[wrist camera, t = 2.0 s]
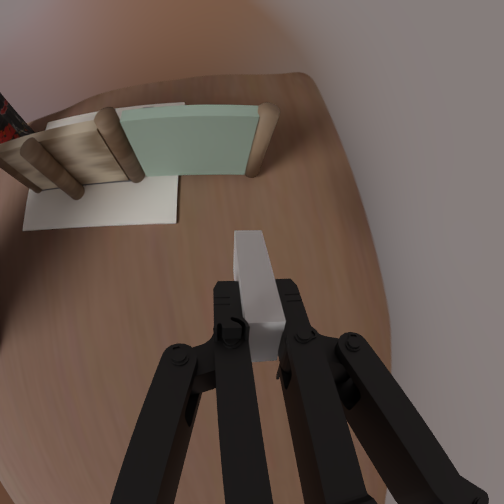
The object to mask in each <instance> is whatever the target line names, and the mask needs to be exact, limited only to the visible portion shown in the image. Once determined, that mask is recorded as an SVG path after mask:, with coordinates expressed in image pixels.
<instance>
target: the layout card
mask: <svg viewBox="0 0 504 504" xmlns="http://www.w3.org/2000/svg"><path fill="white" fill-rule="evenodd" d="M179 105H185V102H179V103H163V104H151V105H141V106H132V107H124V108H117V109H115V110H116V112H117V115H118V117H119V119H121V115H122V111H123V110H131V109H140V108H151V107H163V106H179ZM98 112H99V111H98ZM98 112H92V113H87V114H82V115H77V116H72V117H68V118H63V119H59V120H55V121H51V122H48V124H47V127H46V130H49V129H53V128H57V127H61V126H66V125H70V124H75V123H80V122H85V121H91V120H94V118H95V116H96V114H97V113H98ZM82 186H83V187H84V189H85V192H84V195H83V197H82V198H81V199H79V200H74V199H72V198H71V197H70V196H69V195H67V194H66V193H65V192H64V191H62V190H61V189H60V188H59V187H58V188H51V189H44V190H42V191H41V192H40V193H35V192H34V191H32V190H31V189H29V193H28V198H27V204H26V209H25V216H24V222H23V230H22V231H34V230H48V229H63V228H79V227H98V226H120V225H146V224H176V219H177V193H178V175H173V176H152V177H147V176H146V174H145V178H144V179H143V180H142V181H141V182H139V183H133V182H132V181H131V180H130V179H129V180H125V181H113V182H102V183H92V184H82Z"/></svg>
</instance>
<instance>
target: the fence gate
mask: <svg viewBox="0 0 504 504" xmlns="http://www.w3.org/2000/svg"><path fill="white" fill-rule="evenodd" d="M279 115H280V109H279V107H278V106H277V105H275V104H273V103H269V102H266V103H262V104H260V105H259V106H251V105H179V106H163V107H151V108H140V109H131V110H123V111H122V115H121V119H120V123H121V126H122V128H123V130H124V132H125V134H126V136H127V138H128V140H129V142H130V144H131V146H132V148H133V150H134V152H135V154H136V157H137V159H138V161H139V163H140V164H141V166H142V168H143V170H144V172H145V174H146V176H147V177H152V176H173V175H216V174H235V175H244V174H245V176H247V177H249V178H254V177H256V176H257V175H258V173H259V170H260V167H261V164H262V162H263V159H264V156H265V153H266V151H267V148H268V145H269V142H270V140H271V137H272V134H273V131H274V129H275V126H276V123H277V121H278V118H279Z"/></svg>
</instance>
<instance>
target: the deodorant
mask: <svg viewBox="0 0 504 504" xmlns="http://www.w3.org/2000/svg"><path fill="white" fill-rule="evenodd" d="M33 133H34V131H33V130H32V129H31V128H30V127H29V126H28V125H27V123H26V122H25V121H24V120H23V119H22V118H21V117H20V116H19V115H18V113H17V112H16V111H15V110H14V109H13V107H12V106H11V105H10V104H9V103H8V101H7V100H6V99H5V98H4V97H3V96H2V94H1V93H0V144H2V143H4V142H7V141H10V140H13V139H17V138H20V137H23V136H26V135H30V134H33Z"/></svg>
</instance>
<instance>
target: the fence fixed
mask: <svg viewBox="0 0 504 504" xmlns="http://www.w3.org/2000/svg"><path fill="white" fill-rule="evenodd" d="M0 168H2V169H3V170H4V171H6V172H7V173H8V174H10V175H11V176H12V177H14V178H15V179H17V180H18V181H19V182H21V183H22V184H24V185H25V186H27V187H28V188H29V189H31V190H32V191H34V192H35V193H40V192H41V191H42V190H44V189H51V188H58V187H59V188H60V189H61V190H62V191H64V192H65V193H66V194H67V195H69V196H70V197H71V198H72V199H74V200H79V199H81V198H82V197H83V195H84V192H85V189H84V187H83V186H82V184H92V183H102V182H113V181H125V180H129V179H130V180H131V181H132V182H133V183H139V182H141V181H142V180H143V179H144V178H145V172H144V170H143V168H142V166H141V164H140V163H139V161H138V159H137V157H136V154H135V152H134V150H133V148H132V146H131V144H130V142H129V140H128V138H127V136H126V134H125V132H124V130H123V128H122V126H121V123H120V119H119V117H118V115H117V112H116V110H115V109H114V108H112V107H106V108H103V109H102V110H100V111H99V112H98V113H97V114H96V116H95V118H94V120H91V121H85V122H80V123H75V124H70V125H66V126H61V127H57V128H53V129H49V130H45V131H41V132H37V133H33V134H30V135H26V136H23V137H20V138H17V139H13V140H10V141H7V142H4V143H2V144H0Z"/></svg>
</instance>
